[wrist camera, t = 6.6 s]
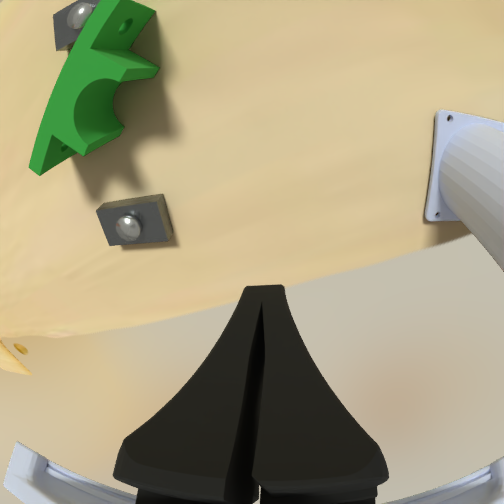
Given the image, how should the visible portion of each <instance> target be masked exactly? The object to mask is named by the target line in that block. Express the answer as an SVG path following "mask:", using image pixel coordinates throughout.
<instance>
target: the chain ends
mask: <svg viewBox="0 0 504 504" xmlns="http://www.w3.org/2000/svg"><path fill="white" fill-rule="evenodd" d="M99 2H100V0H78V1H76V2H74V3H72V4H71V5H69V6H67V7H65V8H64V9H62V10H60V11H59V12H57V13H55V14H54V15H53V20H54V33H55V43H56V51H65V50H69V49H71V48H73V46H74V44H75V42H76V40H77V38H78V36H79V35H80V33H81V31H82V29H83V28H84V26H85V24H86V23H87V21H88V19H89V18H90V16H91V14H92V13H93V11H94V10H95V8H96V6H97V5H98V3H99ZM96 212H97V215H98V218H99V221H100V223H101V226H102V228H103V231H104V233H105V236H106V238H107V241H108V243H109V246H114V245H126V244H138V243H150V242H163V241H169V239H170V237H171V235H172V233H173V229H172V226H171V222H170V219H169V215H168V211H167V208H166V204H165V200H164V197H163V194H158V195H151V196H144V197H138V198H131V199H125V200H119V201H113V202H107V203H103V204H102V205H101V206H100V207H99V208H98V209H97V210H96Z"/></svg>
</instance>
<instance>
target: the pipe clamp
mask: <svg viewBox="0 0 504 504" xmlns="http://www.w3.org/2000/svg"><path fill="white" fill-rule="evenodd" d="M154 12H155V10H153V9H151V8H149V7H146V6H144V5H142V4H139V3H137V2H135V1H132V0H100V2H99V3H98V5H97V6H96V8H95V10H94V11H93V13H92V14H91V16H90V18H89V19H88V21H87V23H86V24H85V26H84V28H83V29H82V31H81V33H80V35H79V36H78V38H77V40H76V42H75V44H74V46H73V48H72V50H71V52H70V54H69V56H68V58H67V60H66V62H65V64H64V66H63V68H62V70H61V73H60V75H59V77H58V79H57V82H56V84H55V86H54V89H53V91H52V94H51V96H50V99H49V102H48V104H47V107H46V110H45V113H44V116H43V118H42V121H41V125H40V128H39V131H38V134H37V137H36V141H35V144H34V148H33V152H32V156H31V160H30V164H29V168H30V169H31V170H32V171H34V172H35V173H36V174H38V175H39V176H41V175H42V174H44V173H45V172H47V171H48V170H50V169H51V168H53V167H54V166H56V165H58V164H59V163H61V162H62V161H64V160H66V159H67V158H69V157H71V156H72V155H74V154H76V153H77V152H78V153H79V154H81V155H82V156H85V155H87V154H88V153H90V152H92V151H93V150H95V149H97V148H99V147H100V146H102V145H104V144H106V143H107V142H109V141H111V140H113V139H115V138H117V137H118V136H120V134H121V132H122V130H123V129H124V126H123V125H122V124H121V123H120V122H119V121H118V120H117V118H116V116H115V114H114V111H113V97H114V94H115V91H116V89H117V88H118V86H119V85H120V84H121V83H122V82H123V81H130V80H138V79H146V78H154V76H155V75H156V73H157V72H158V70H159V69H160V67H158V66H156V65H155V64H153V63H151V62H149V61H148V60H146V59H144V58H142V57H141V56H139V55H137V54H135V53H133V52H131V51H130V50H129V48H130V47H131V45H132V44H133V42H134V41H135V39H136V38H137V36H138V35H139V33H140V32H141V30H142V29H143V28H144V26H145V25H146V23H147V22H148V21H149V19H150V18H151V16H152V15H153V14H154Z"/></svg>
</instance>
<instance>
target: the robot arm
mask: <svg viewBox="0 0 504 504" xmlns="http://www.w3.org/2000/svg"><path fill="white" fill-rule="evenodd" d="M448 115H450V120H449V121H447V117H448ZM437 212H438V214H437V215H436V216H435V214H436V213H437ZM425 218H426V219H427V220H428V221H462V223H463V224H464V225H465V226H466V227H467V228H468V229H469V230H470V231H471V232H472V234H473V235H474V236H475V237H476V238H477V239H478V240H479V242H480V243H481V244H482V245H483V246H484V248H486V250H487V251H488V252H489V254H490V255H491V256H492V257H493V259H494V260H495V261H496V262H497V264H498V265H499V266H500V267H501V269H502V270H503V272H504V123H503V122H499V121H495V120H491V119H487V118H483V117H479V116H474V115H469V114H465V113H459V112H454V111H448V110H442V109H441V110H438V111H437V112H436V115H435V134H434V147H433V158H432V167H431V175H430V183H429V190H428V196H427V203H426V208H425ZM113 477H114V478H115V479H116V480H119V481H121V482H123V483H126V484H128V485H131V486H133V487H136V488H138V493H137V496H136V495H133V494H130V493H127V492H124V491H121V490H118V489H115V488H112V487H109V486H106V485H104V484H101V483H98V482H96V481H93V480H91V479H88V478H86V477H84V476H81V475H79V474H76V473H74V472H72V471H70V470H68V469H66V468H64V467H62V466H60V465H58V464H56V463H54V462H52V461H50V460H48V459H47V458H45V457H44V456H42V455H40V454H38V453H37V452H35V451H33V450H31V449H30V448H28V447H26V446H24V445H23V444H22V443H20V442H16V445H15V447H14V450H13V453H12V456H11V459H10V463H9V466H8V469H7V473H6V476H5V480H4V484H3V485H4V487H5V488H6V489H8V490H9V491H10V492H11V493H13V494H14V495H15V496H16V497H18V498H19V499H20V500H21V501H22V502H24V503H25V504H253V503H254V502H255V501H257V500H258V499H259V485H260V486H261V494H260V504H375V497H377V486H378V485H380V484H382V483H384V482H385V481H387V480H388V478H389V472H388V468H387V465H386V461H385V459H384V456H383V454H382V452H381V449H380V447H379V446H378V444H377V443H376V442H375V441H374V440H373V439H372V438H371V437H370V436H369V435H368V434H367V433H366V432H365V430H364V429H363V428H362V427H361V426H360V425H359V424H358V423H357V422H356V420H355V419H354V418H353V417H352V416H351V414H350V413H349V412H348V411H347V410H346V408H345V407H344V405H343V404H342V403H341V402H340V400H339V399H338V398H337V396H336V395H335V393H334V392H333V391H332V389H331V388H330V387H329V385H328V384H327V382H326V380H325V379H324V377H323V376H322V374H321V373H320V371H319V370H318V368H317V366H316V365H315V363H314V361H313V360H312V358H311V356H310V354H309V352H308V351H307V348H306V346H305V345H304V342H303V340H302V338H301V336H300V334H299V332H298V329H297V327H296V325H295V323H294V320H293V317H292V315H291V312H290V309H289V306H288V303H287V299H286V295H285V288H284V286H283V285H261V286H246V287H245V288H244V290H243V293H242V295H241V298H240V300H239V302H238V305H237V307H236V309H235V311H234V313H233V315H232V317H231V318H230V320H229V322H228V324H227V326H226V328H225V329H224V331H223V333H222V335H221V336H220V338H219V339H218V341H217V342H216V344H215V346H214V347H213V349H212V350H211V352H210V353H209V355H208V356H207V357H206V359H205V360H204V362H203V363H202V364H201V366H200V367H199V368H198V370H197V371H196V372H195V373H194V375H193V376H192V377H191V378H190V379H189V380H188V382H187V383H186V384H185V385H184V386H183V387H182V389H181V390H180V391H179V392H178V393H177V394H176V395H175V396H174V397H173V398H172V399H171V400H170V401H169V402H168V403H167V404H166V405H165V406H164V407H162V408H161V409H160V410H159V411H158V412H157V413H156V414H155V415H154V416H153V417H152V418H150V419H149V420H148V421H147V422H145V423H144V424H143V425H142V426H140V427H139V428H138V429H136V430H135V431H134V432H133V433H131V434H130V435H129V436H127V437H126V438H125V439H124V440H123V443H122V446H121V448H120V450H119V453H118V456H117V460H116V464H115V468H114V472H113ZM384 504H504V456H503V457H501V458H500V459H498V460H496V461H495V462H493V463H491V464H490V465H488V466H486V467H484V468H482V469H480V470H478V471H476V472H474V473H471V474H470V475H467V476H465V477H463V478H460V479H458V480H456V481H453V482H451V483H448V484H446V485H443V486H440V487H438V488H435V489H432V490H429V491H426V492H423V493H420V494H417V495H413V496H410V497H407V498H403V499H399V500H396V501H392V502H387V503H384Z"/></svg>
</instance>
